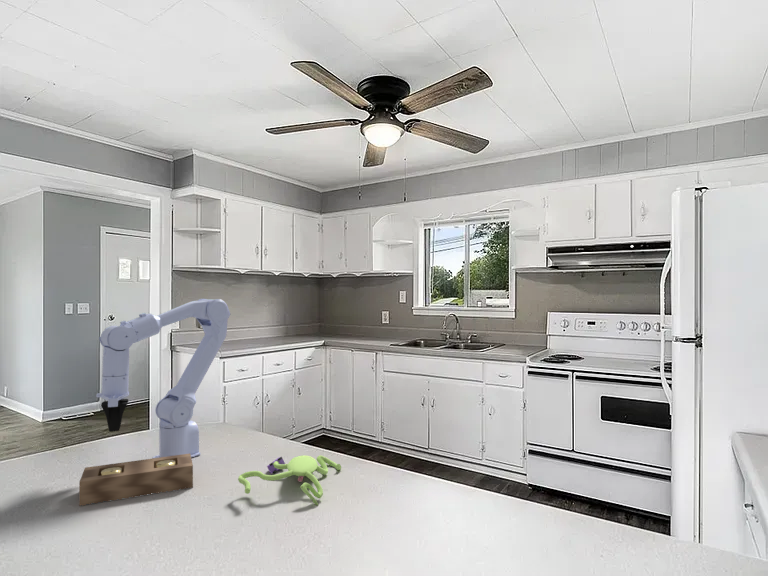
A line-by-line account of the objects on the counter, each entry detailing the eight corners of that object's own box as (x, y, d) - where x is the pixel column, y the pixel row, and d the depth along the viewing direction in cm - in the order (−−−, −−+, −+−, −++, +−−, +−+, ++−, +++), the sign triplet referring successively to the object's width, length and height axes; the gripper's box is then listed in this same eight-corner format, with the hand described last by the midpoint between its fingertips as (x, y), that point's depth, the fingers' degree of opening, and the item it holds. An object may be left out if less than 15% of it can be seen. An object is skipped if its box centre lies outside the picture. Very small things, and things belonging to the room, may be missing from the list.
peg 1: (122, 488, 111) (122, 466, 111) (121, 494, 107) (121, 472, 107) (101, 491, 109) (101, 468, 109) (100, 498, 105) (100, 475, 105)
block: (190, 473, 119) (190, 453, 119) (192, 487, 111) (192, 465, 111) (85, 489, 110) (85, 467, 110) (79, 505, 102) (79, 481, 102)
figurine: (228, 508, 101) (228, 481, 101) (276, 462, 128) (276, 441, 128) (314, 514, 99) (314, 486, 99) (345, 466, 125) (345, 444, 125)
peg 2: (175, 480, 115) (175, 458, 115) (175, 486, 112) (175, 464, 112) (156, 482, 114) (156, 461, 114) (156, 489, 110) (156, 467, 110)
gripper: (99, 371, 125) (98, 425, 125) (93, 380, 112) (91, 440, 111) (131, 370, 128) (129, 422, 128) (128, 378, 115) (126, 437, 114)
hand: (114, 430), depth 120 cm, fingers closed
